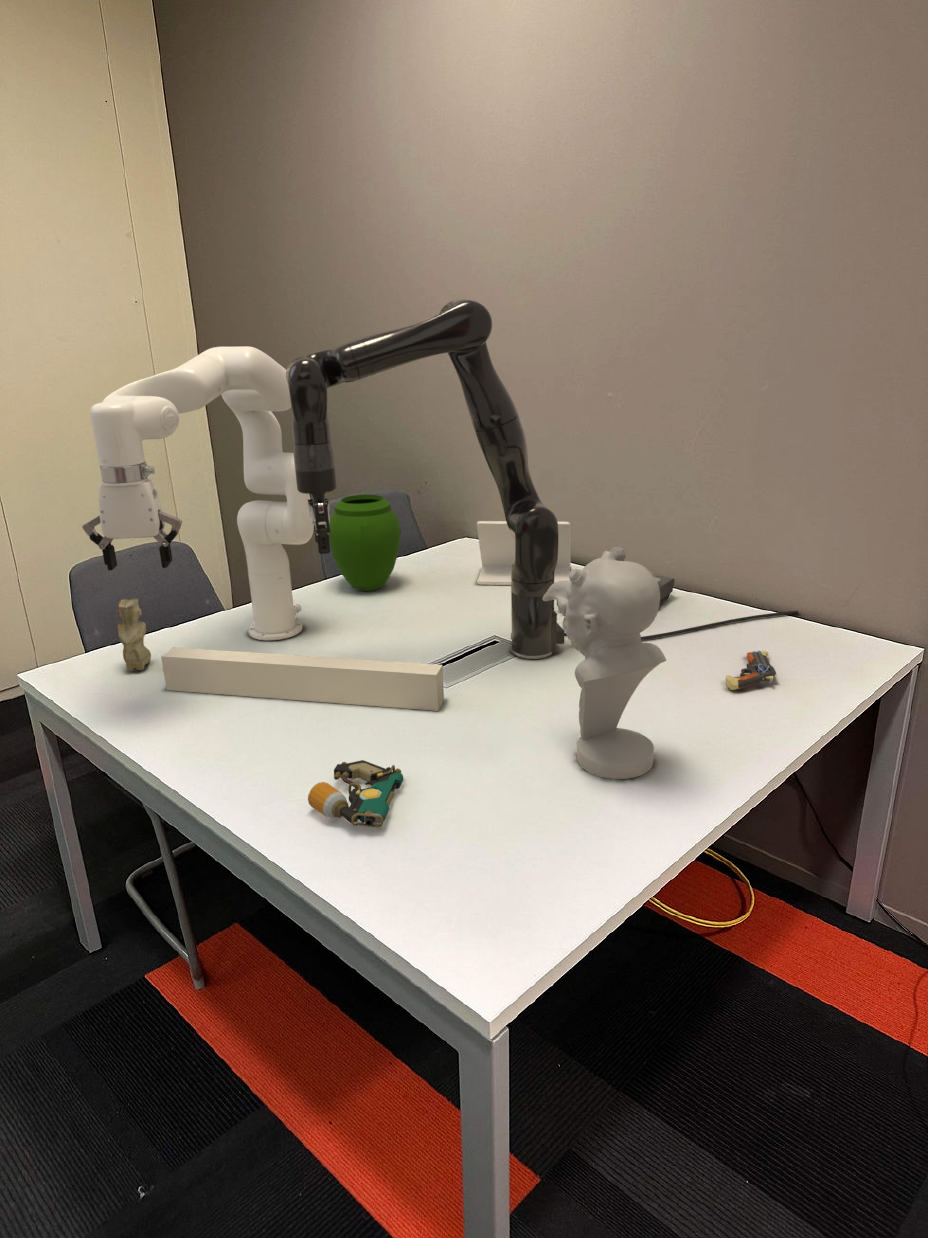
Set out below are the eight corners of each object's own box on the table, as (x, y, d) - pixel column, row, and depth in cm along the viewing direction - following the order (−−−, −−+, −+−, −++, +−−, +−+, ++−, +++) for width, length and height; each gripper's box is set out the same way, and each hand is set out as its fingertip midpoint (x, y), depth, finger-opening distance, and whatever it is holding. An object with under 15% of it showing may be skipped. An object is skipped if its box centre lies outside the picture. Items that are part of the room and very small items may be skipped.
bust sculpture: (592, 709, 161) (598, 528, 148) (680, 765, 141) (694, 562, 128) (520, 730, 154) (519, 542, 141) (601, 792, 134) (608, 580, 121)
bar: (444, 700, 167) (442, 664, 164) (438, 711, 162) (436, 674, 160) (178, 680, 179) (173, 647, 176) (166, 690, 174) (160, 656, 172)
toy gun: (727, 680, 165) (782, 677, 163) (718, 649, 183) (767, 646, 181) (728, 693, 166) (782, 690, 164) (719, 661, 184) (767, 658, 182)
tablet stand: (569, 585, 229) (570, 524, 223) (476, 584, 232) (475, 523, 226) (570, 566, 246) (571, 508, 240) (484, 564, 249) (483, 507, 243)
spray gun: (349, 769, 144) (428, 790, 138) (290, 816, 130) (376, 841, 124) (349, 746, 143) (429, 767, 137) (289, 791, 128) (375, 816, 122)
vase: (418, 582, 236) (413, 495, 227) (374, 603, 220) (368, 510, 212) (362, 572, 246) (356, 488, 237) (317, 591, 230) (309, 503, 222)
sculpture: (156, 659, 189) (146, 595, 184) (147, 672, 183) (135, 606, 177) (130, 660, 189) (118, 596, 184) (119, 673, 182) (107, 608, 177)
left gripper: (179, 468, 154) (192, 559, 160) (81, 472, 153) (98, 563, 159) (168, 476, 147) (182, 571, 153) (66, 480, 146) (84, 575, 152)
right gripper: (338, 471, 158) (345, 555, 163) (330, 458, 171) (338, 536, 176) (296, 474, 156) (306, 559, 162) (292, 461, 169) (301, 540, 175)
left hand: (139, 567), depth 156 cm, fingers open, 9 cm apart
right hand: (322, 547), depth 169 cm, fingers open, 8 cm apart
